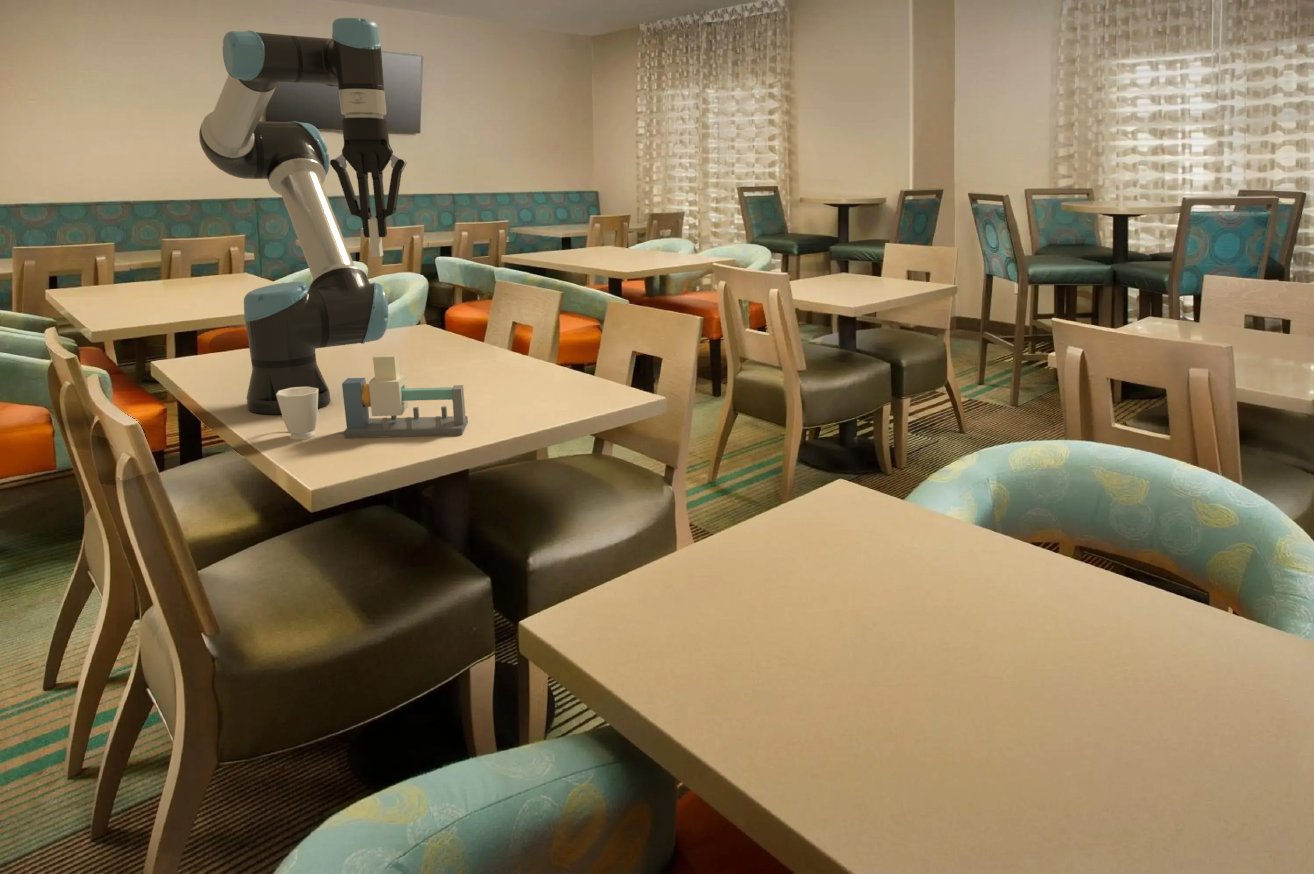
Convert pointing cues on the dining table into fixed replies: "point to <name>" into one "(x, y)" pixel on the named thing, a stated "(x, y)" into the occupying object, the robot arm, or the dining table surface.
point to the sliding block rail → (364, 426)
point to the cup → (299, 411)
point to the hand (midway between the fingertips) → (377, 255)
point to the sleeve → (387, 387)
